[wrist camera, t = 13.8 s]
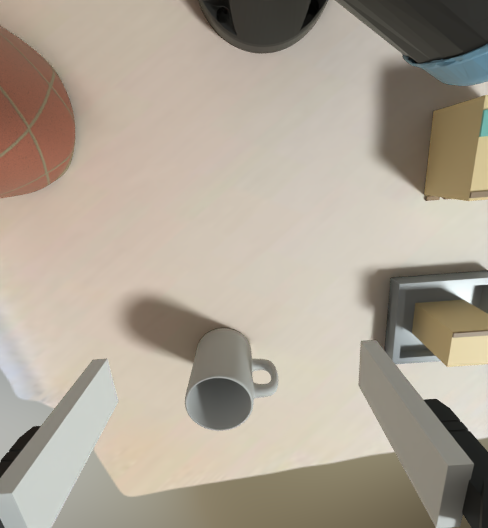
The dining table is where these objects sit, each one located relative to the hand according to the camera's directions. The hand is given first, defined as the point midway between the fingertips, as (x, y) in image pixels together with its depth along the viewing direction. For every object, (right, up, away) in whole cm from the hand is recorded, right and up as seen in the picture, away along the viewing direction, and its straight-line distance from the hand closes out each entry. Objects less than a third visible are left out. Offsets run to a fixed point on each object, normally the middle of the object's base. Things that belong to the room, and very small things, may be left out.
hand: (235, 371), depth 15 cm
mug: (-1, -8, +31) cm, 32 cm away
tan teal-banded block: (+27, +20, +22) cm, 40 cm away
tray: (+29, -2, +29) cm, 41 cm away
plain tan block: (+29, -2, +28) cm, 41 cm away
